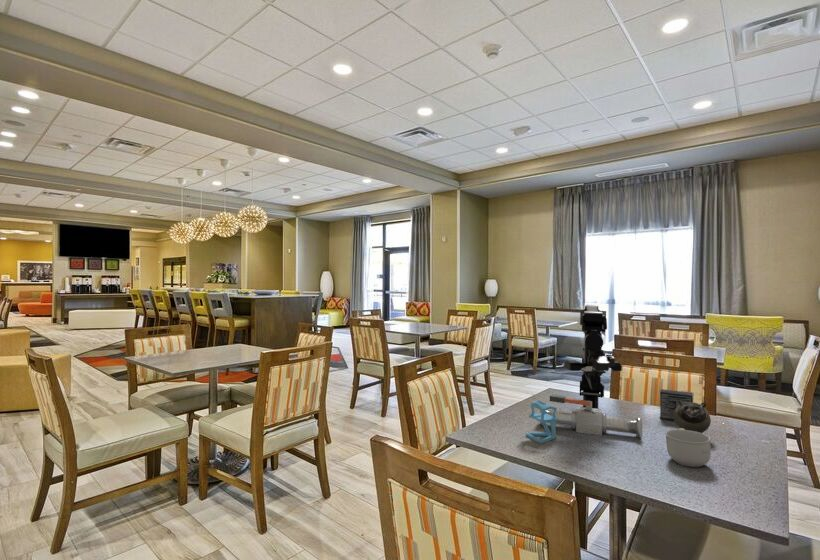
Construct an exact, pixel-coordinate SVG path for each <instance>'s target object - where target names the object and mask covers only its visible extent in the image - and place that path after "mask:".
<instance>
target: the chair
mask: <svg viewBox="0 0 820 560" xmlns="http://www.w3.org/2000/svg"><path fill="white" fill-rule="evenodd" d="M529 405H530V409H531V413H529V414H528V418H531V419H534V420H535V421H537V422H539V423H540V422H541V423H542V424H543V425H542V426H543V428H544V430H545V432H525V436H526V437H527V438H528V439H531V440H533V441H535V442H537V443H539V444H544V443H547V442H550V441H552V440H554V439H557V434H556V433H557V432H556V429H557V428H556V426H557V424H556V422H557V421H558V418H556V417H555V412H556V411H557V409H558V407H557V406H555V407H554V406H553V405H551V404H549V403H548V404H547V402H543V401H541V400H535V401H533V402H531V403H530V404H529ZM534 408H535V409H537V410H539V413H535V409H534ZM546 410H552V411H553V414H552V416H551V415H549V414H547V413H546ZM540 411H541V413H540ZM547 424H549V425H550V426H551V431H550V429H549V426H548V425H547ZM538 437H544V438H542V439H541V438H538Z"/></svg>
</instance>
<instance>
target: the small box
mask: <svg viewBox="0 0 820 560" xmlns="http://www.w3.org/2000/svg"><path fill="white" fill-rule="evenodd" d="M659 395H660V397H659V401H660V403H659V404H660V405H659V408H660V409H659V410H660V413H659V419H660V420H664V421H670V422H671V421H672V422H675V421H674V411H675V409H676V407H677V406H678V405H679V399H680V400H683V402H693V401H694V399H693V397H694V396H693V392H690V391H679V390H672V389H663V388H660V390H659Z"/></svg>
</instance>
